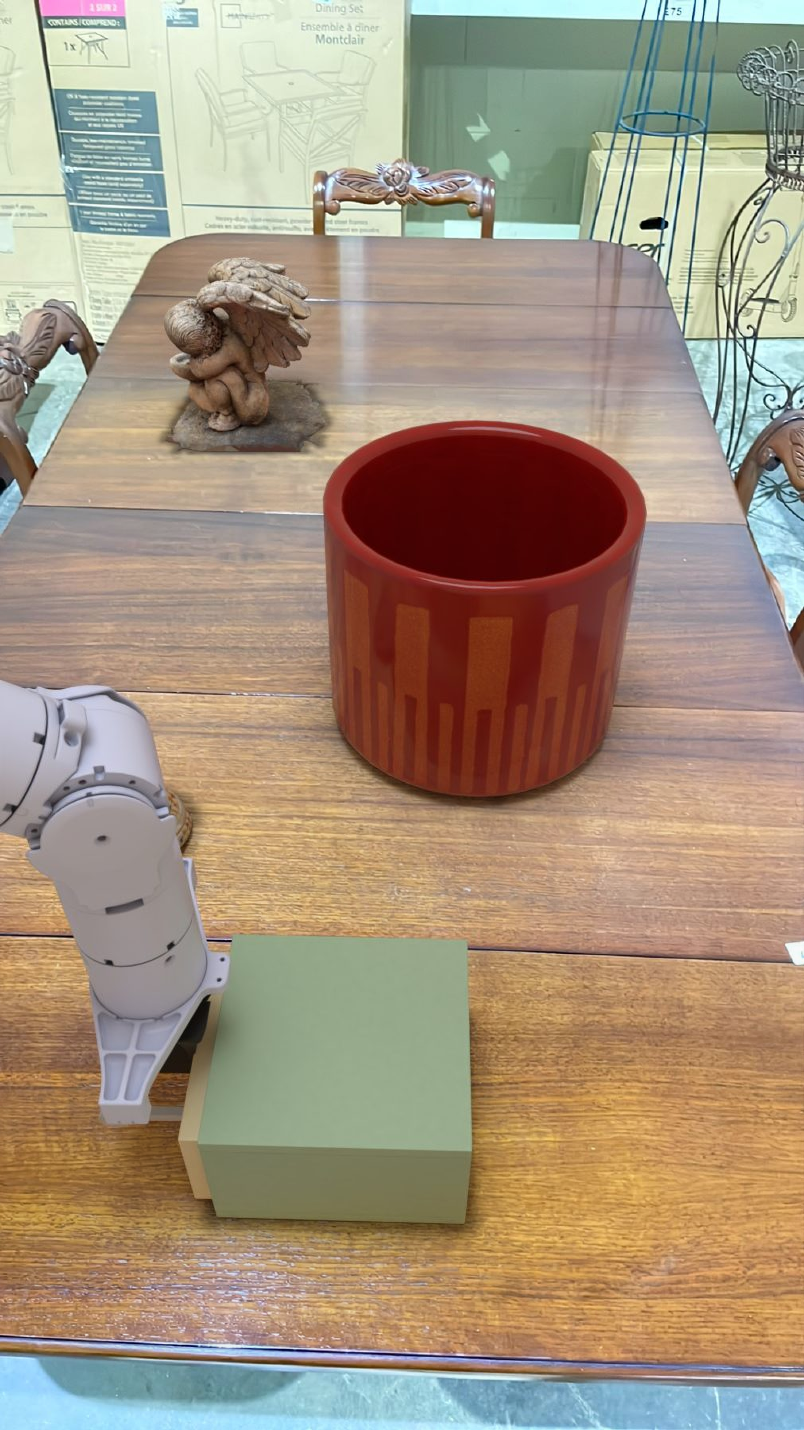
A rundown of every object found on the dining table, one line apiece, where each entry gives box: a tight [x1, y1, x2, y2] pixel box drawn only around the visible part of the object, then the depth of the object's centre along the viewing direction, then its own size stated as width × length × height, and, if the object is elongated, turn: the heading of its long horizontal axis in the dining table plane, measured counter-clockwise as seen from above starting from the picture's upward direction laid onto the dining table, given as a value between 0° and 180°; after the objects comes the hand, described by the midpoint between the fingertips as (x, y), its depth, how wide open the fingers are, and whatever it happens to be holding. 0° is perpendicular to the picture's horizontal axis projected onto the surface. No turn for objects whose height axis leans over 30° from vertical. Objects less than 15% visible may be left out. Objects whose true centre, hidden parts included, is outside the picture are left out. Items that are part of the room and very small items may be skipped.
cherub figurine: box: [163, 257, 326, 452], centre depth 122 cm, size 18×18×18 cm
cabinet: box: [197, 933, 473, 1225], centre depth 61 cm, size 14×13×9 cm
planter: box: [322, 419, 648, 798], centre depth 83 cm, size 23×23×20 cm
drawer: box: [97, 951, 230, 1200], centre depth 61 cm, size 18×11×7 cm, turn 89°
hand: (178, 1062), depth 61 cm, fingers closed, pressing on drawer
